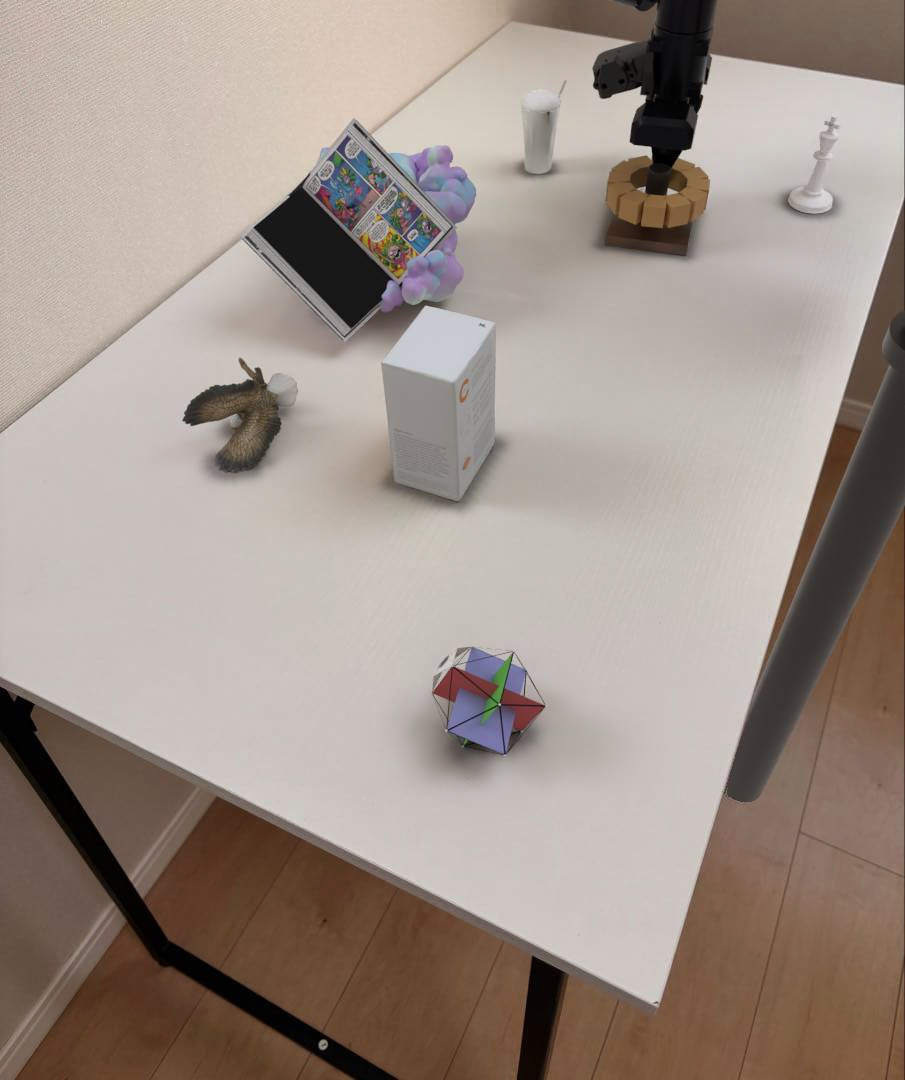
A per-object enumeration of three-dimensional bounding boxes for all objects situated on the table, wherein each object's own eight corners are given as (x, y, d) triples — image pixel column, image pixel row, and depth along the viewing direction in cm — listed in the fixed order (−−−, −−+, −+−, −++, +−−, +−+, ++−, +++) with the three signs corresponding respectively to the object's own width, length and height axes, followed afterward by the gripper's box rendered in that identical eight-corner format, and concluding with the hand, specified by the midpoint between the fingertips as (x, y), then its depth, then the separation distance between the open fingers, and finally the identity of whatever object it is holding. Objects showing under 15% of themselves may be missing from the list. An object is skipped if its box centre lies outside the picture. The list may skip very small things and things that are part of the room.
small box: (431, 424, 85) (425, 302, 75) (496, 443, 83) (498, 320, 73) (391, 483, 80) (378, 361, 70) (459, 504, 78) (456, 382, 69)
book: (472, 177, 105) (379, 42, 92) (533, 275, 90) (432, 129, 78) (331, 287, 110) (225, 172, 97) (367, 396, 95) (247, 277, 83)
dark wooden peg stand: (695, 213, 108) (706, 153, 102) (686, 255, 102) (697, 193, 97) (617, 204, 109) (624, 144, 104) (604, 245, 104) (610, 183, 98)
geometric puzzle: (574, 681, 64) (507, 611, 60) (556, 770, 60) (483, 701, 56) (492, 697, 68) (424, 633, 65) (469, 781, 64) (395, 718, 60)
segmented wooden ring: (708, 179, 106) (711, 159, 104) (703, 232, 99) (707, 211, 97) (611, 171, 107) (613, 151, 106) (600, 222, 101) (602, 202, 99)
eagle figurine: (222, 384, 87) (166, 432, 81) (253, 334, 83) (197, 380, 76) (286, 438, 88) (236, 489, 82) (321, 391, 84) (271, 441, 77)
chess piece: (804, 187, 111) (828, 102, 103) (840, 203, 108) (867, 117, 101) (779, 202, 109) (801, 116, 101) (814, 218, 106) (840, 131, 99)
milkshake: (568, 171, 115) (574, 87, 107) (528, 180, 114) (532, 96, 106) (552, 154, 118) (557, 72, 110) (513, 163, 116) (515, 80, 109)
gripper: (618, -17, 101) (603, 127, 112) (586, 53, 89) (574, 206, 101) (724, -9, 99) (698, 137, 110) (705, 64, 87) (678, 219, 99)
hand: (661, 172), depth 105 cm, fingers closed on segmented wooden ring, 2 cm apart
